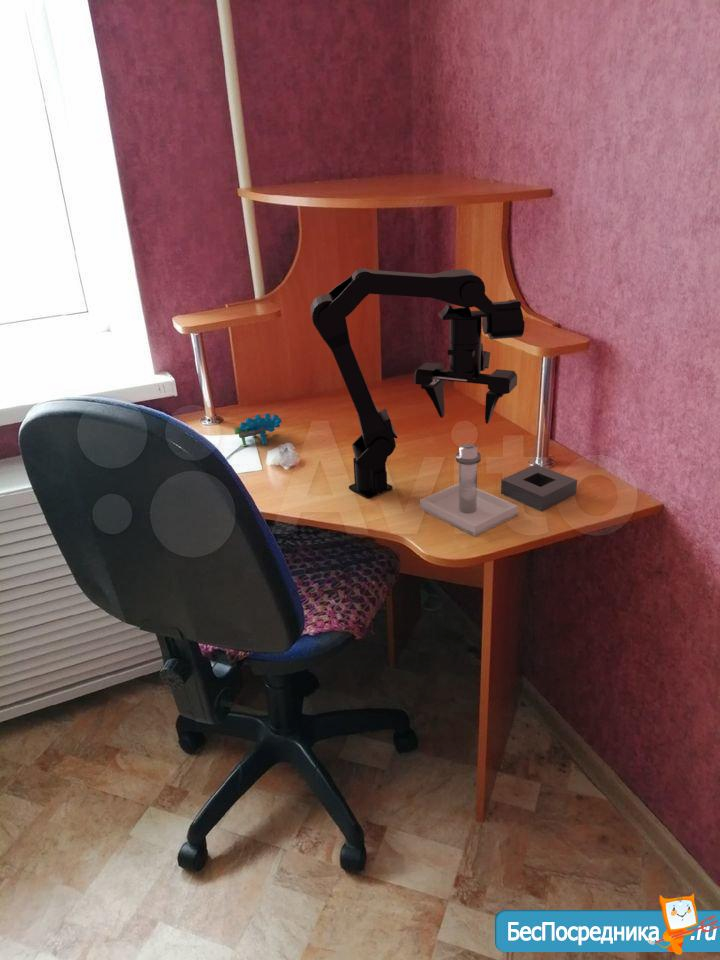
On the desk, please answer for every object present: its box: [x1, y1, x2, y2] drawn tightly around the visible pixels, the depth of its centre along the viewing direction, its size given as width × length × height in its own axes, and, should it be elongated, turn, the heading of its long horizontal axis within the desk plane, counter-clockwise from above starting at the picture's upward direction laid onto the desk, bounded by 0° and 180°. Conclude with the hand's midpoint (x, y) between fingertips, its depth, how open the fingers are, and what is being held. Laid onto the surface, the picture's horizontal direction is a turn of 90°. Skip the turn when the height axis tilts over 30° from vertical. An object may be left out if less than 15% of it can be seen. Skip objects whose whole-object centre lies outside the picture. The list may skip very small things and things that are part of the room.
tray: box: [419, 482, 518, 537], centre depth 139 cm, size 14×11×2 cm
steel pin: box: [455, 443, 482, 514], centre depth 136 cm, size 4×4×12 cm
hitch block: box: [500, 463, 578, 512], centre depth 144 cm, size 10×10×3 cm
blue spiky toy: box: [233, 413, 283, 446], centre depth 173 cm, size 11×6×10 cm
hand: (464, 420), depth 145 cm, fingers open, 9 cm apart
